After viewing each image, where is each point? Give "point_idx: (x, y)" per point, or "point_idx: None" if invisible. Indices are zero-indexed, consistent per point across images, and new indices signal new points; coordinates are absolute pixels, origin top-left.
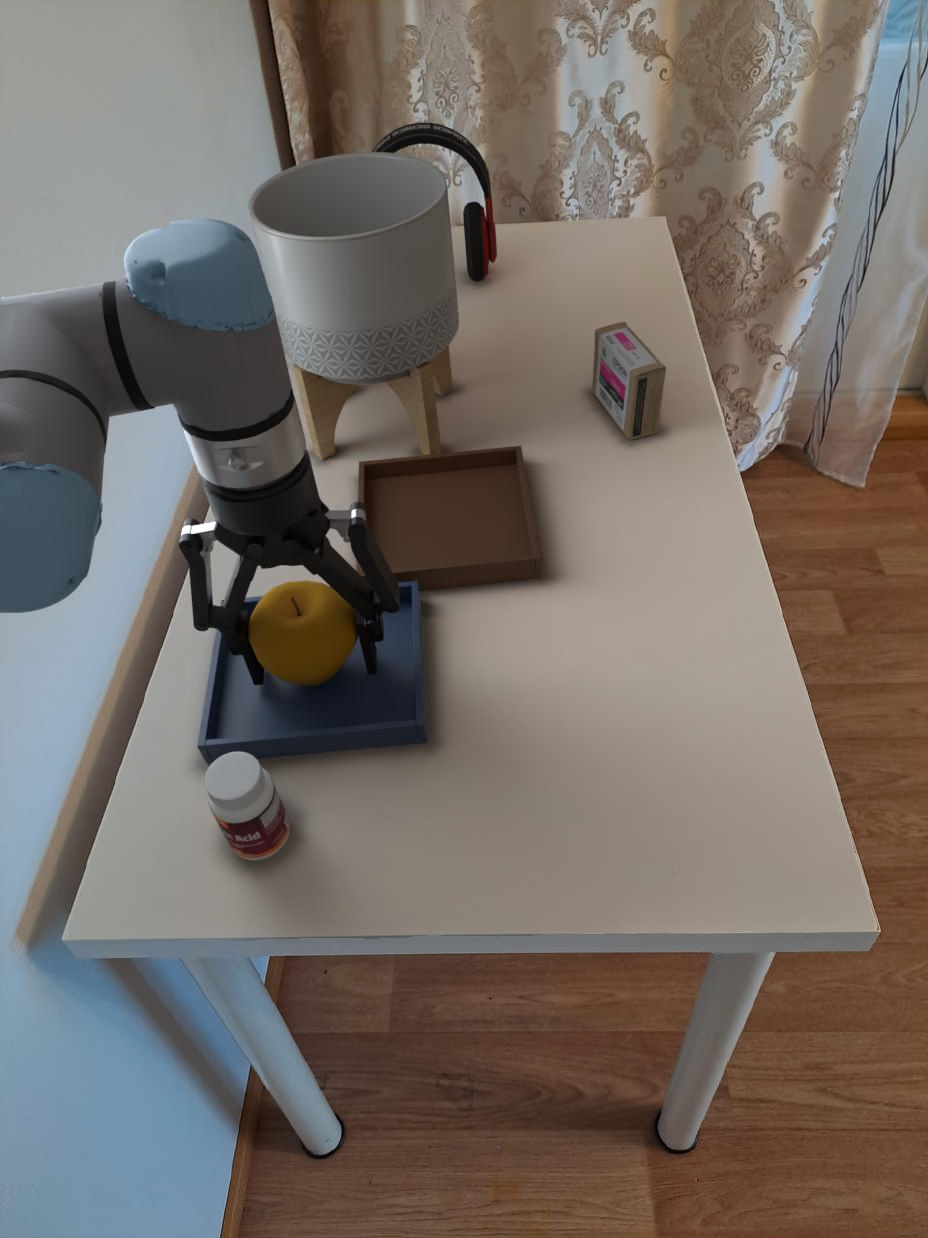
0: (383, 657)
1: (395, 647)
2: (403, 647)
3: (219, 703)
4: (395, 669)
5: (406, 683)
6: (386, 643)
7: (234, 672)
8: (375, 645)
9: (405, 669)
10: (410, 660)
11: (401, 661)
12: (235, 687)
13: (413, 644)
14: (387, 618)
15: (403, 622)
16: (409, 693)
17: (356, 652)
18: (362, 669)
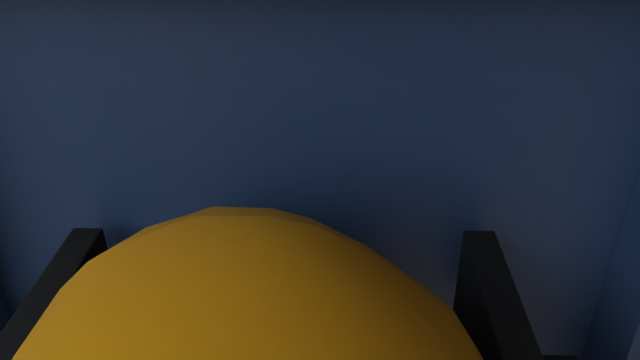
0: (506, 225)
1: (556, 195)
2: (584, 195)
3: (11, 316)
4: (537, 274)
5: (559, 318)
6: (527, 175)
7: (9, 223)
8: (500, 252)
9: (568, 274)
10: (594, 247)
11: (563, 248)
12: (36, 274)
13: (623, 190)
14: (555, 52)
15: (616, 83)
16: (560, 344)
17: (415, 196)
18: (431, 261)
